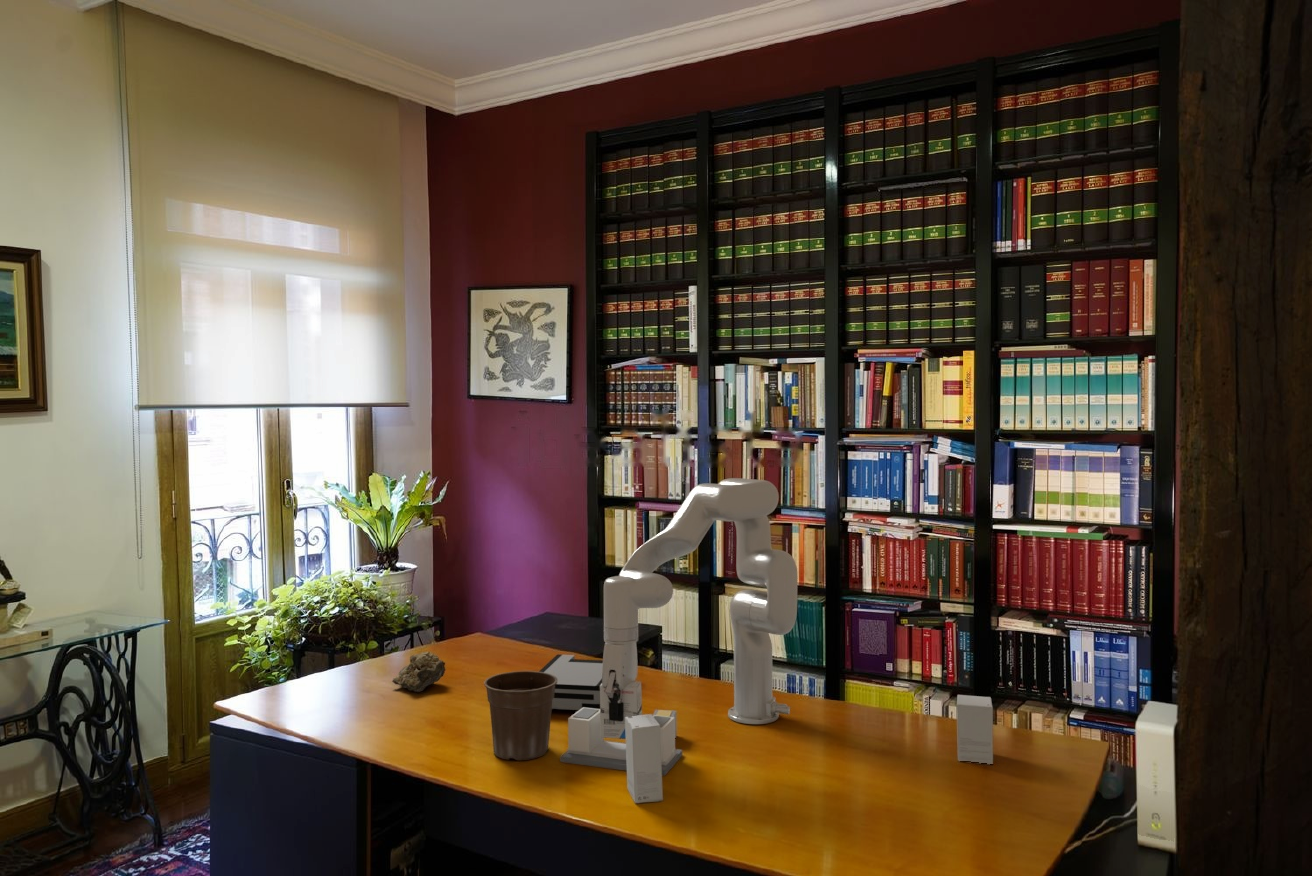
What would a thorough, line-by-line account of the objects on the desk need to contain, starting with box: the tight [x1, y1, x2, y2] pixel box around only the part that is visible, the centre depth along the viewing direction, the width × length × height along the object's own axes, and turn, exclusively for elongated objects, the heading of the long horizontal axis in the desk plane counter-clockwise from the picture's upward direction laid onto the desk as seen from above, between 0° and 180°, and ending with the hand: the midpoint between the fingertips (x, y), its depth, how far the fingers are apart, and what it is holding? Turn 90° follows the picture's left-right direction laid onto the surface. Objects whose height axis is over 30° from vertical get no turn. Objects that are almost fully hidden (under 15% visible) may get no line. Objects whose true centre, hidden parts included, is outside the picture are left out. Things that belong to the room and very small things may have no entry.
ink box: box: [600, 680, 643, 740], centre depth 196 cm, size 9×5×12 cm, turn 78°
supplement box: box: [956, 694, 994, 765], centre depth 195 cm, size 7×7×13 cm
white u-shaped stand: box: [559, 707, 683, 777], centre depth 196 cm, size 24×12×9 cm, turn 71°
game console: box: [538, 654, 603, 712], centre depth 241 cm, size 21×32×8 cm, turn 170°
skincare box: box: [625, 713, 664, 804], centre depth 177 cm, size 8×6×15 cm
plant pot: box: [483, 670, 558, 761], centre depth 201 cm, size 16×16×16 cm
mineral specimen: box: [391, 651, 446, 693], centre depth 250 cm, size 14×13×10 cm
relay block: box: [652, 709, 678, 738], centre depth 208 cm, size 5×6×6 cm
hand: (621, 715), depth 196 cm, fingers closed on ink box, 5 cm apart
